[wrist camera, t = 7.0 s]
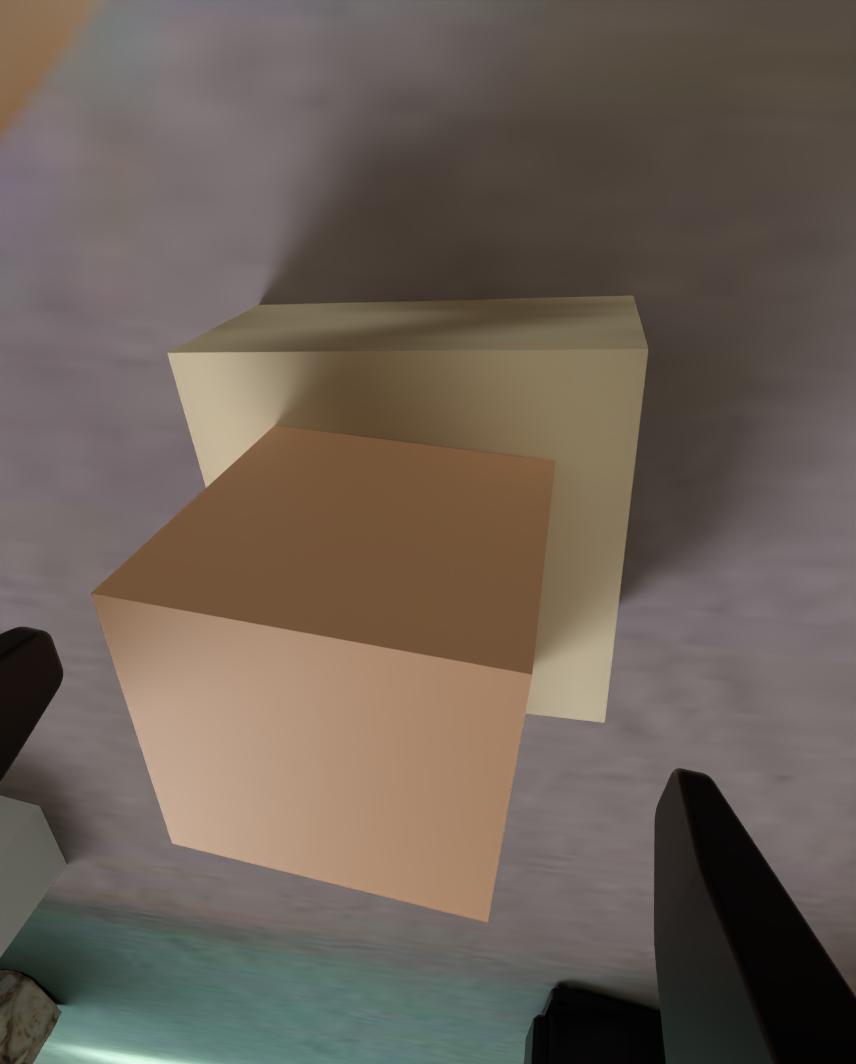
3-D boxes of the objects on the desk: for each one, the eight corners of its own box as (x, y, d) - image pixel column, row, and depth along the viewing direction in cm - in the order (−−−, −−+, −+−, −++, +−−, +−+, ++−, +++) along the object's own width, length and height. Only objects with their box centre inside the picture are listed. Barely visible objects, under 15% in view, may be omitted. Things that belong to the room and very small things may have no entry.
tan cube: (555, 461, 10) (532, 674, 6) (519, 675, 13) (487, 922, 9) (274, 425, 11) (90, 593, 7) (296, 633, 14) (172, 843, 10)
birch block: (632, 292, 12) (647, 349, 9) (601, 606, 17) (604, 722, 13) (264, 301, 14) (167, 352, 11) (320, 584, 18) (262, 682, 15)
